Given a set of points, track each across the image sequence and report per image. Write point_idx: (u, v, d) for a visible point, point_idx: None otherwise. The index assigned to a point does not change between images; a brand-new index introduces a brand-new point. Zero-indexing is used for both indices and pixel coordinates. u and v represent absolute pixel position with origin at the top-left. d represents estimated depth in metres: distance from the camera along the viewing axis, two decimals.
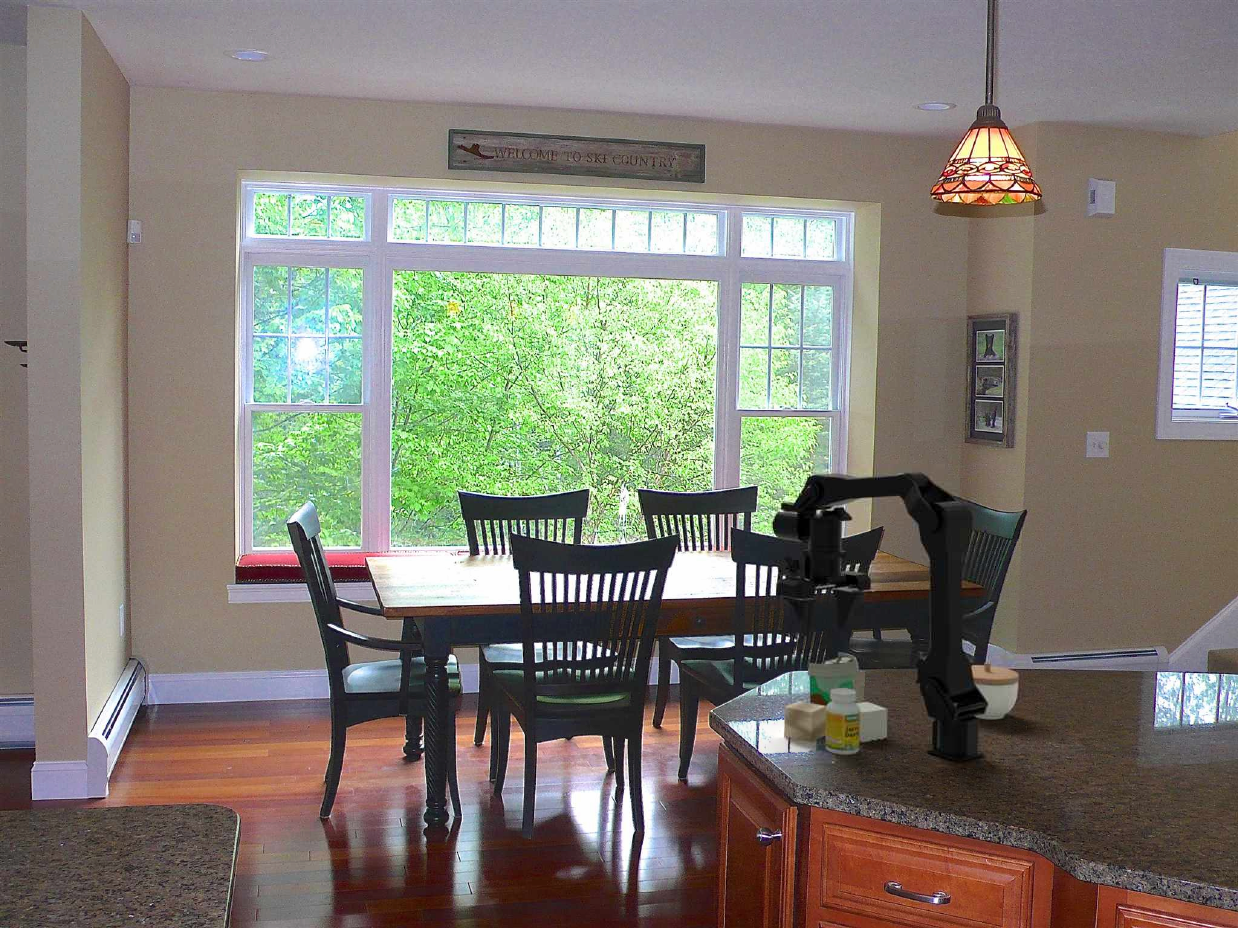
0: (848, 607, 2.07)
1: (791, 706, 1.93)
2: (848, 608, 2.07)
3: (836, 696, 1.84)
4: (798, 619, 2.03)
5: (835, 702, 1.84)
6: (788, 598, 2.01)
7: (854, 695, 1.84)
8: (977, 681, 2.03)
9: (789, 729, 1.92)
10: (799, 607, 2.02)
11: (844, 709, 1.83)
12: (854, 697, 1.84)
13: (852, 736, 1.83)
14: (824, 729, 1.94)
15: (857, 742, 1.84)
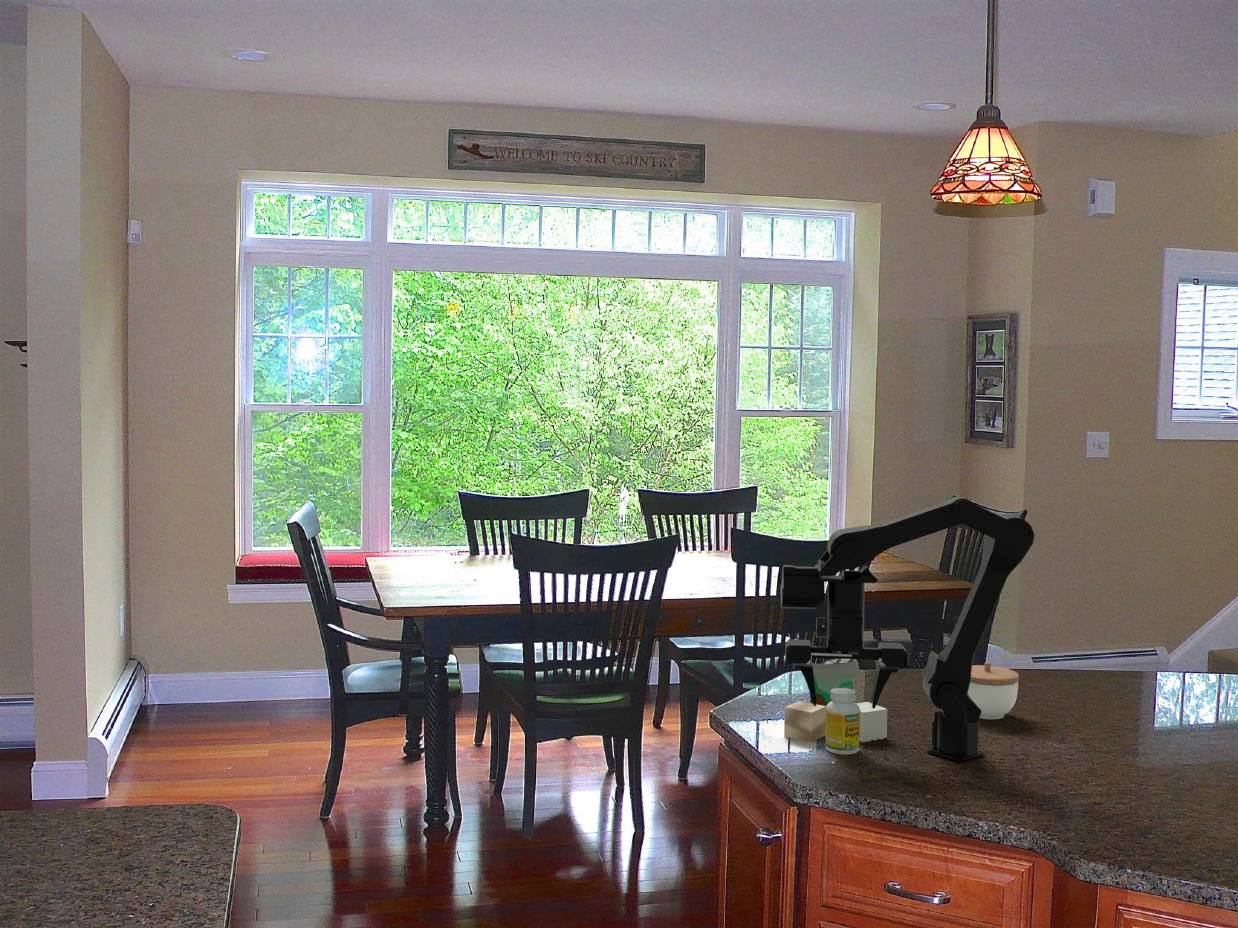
0: (876, 683, 1.83)
1: (791, 706, 1.93)
2: (875, 684, 1.83)
3: (836, 696, 1.84)
4: None
5: (835, 702, 1.84)
6: None
7: (854, 695, 1.84)
8: (977, 681, 2.03)
9: (789, 729, 1.92)
10: None
11: (844, 709, 1.83)
12: (854, 697, 1.84)
13: (852, 736, 1.83)
14: (824, 730, 1.94)
15: (857, 742, 1.84)
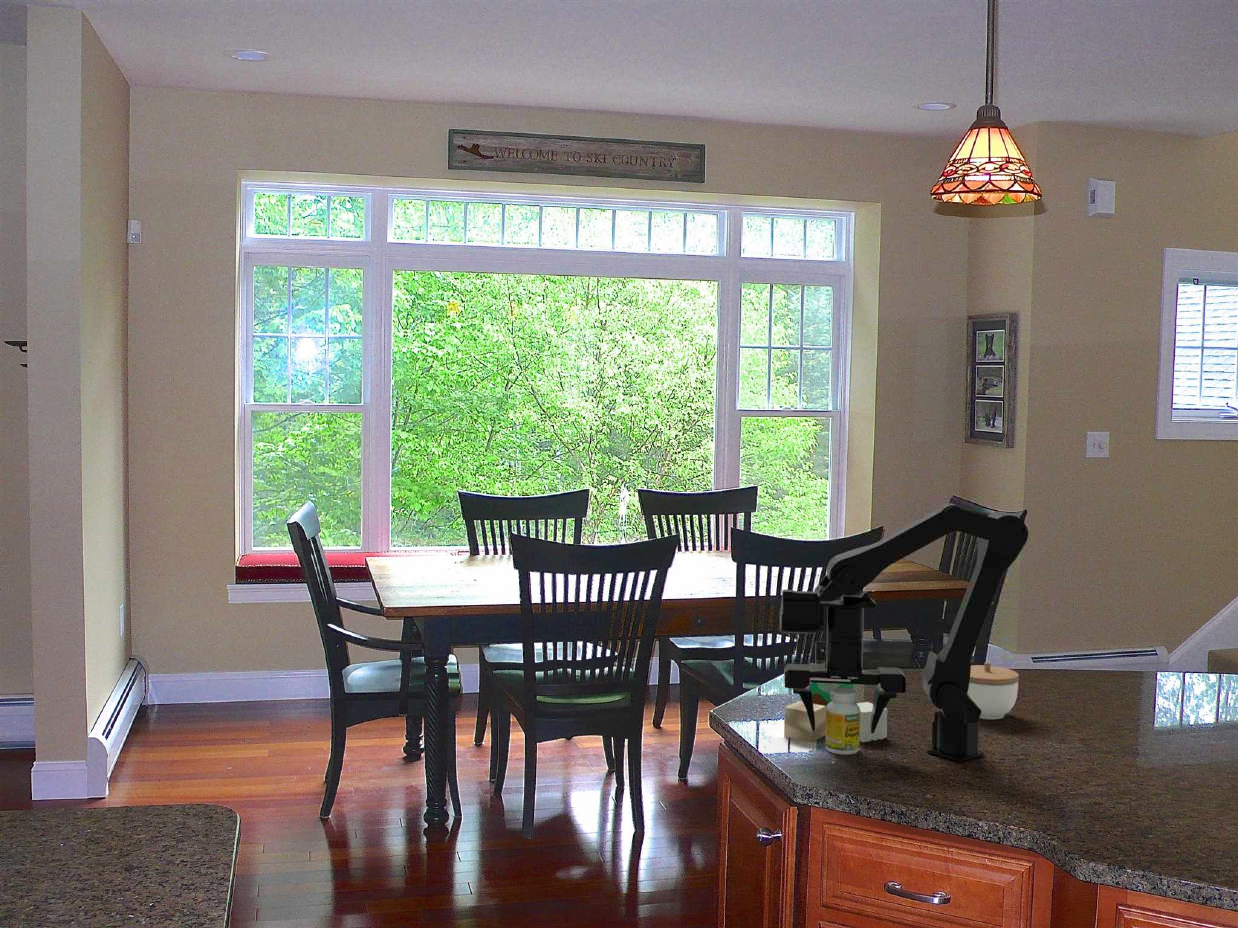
0: (874, 708, 1.83)
1: (791, 706, 1.93)
2: (874, 709, 1.83)
3: (836, 696, 1.84)
4: None
5: (835, 702, 1.84)
6: None
7: (854, 695, 1.84)
8: (977, 681, 2.03)
9: (789, 729, 1.92)
10: None
11: (844, 709, 1.83)
12: (854, 697, 1.84)
13: (852, 736, 1.83)
14: (824, 729, 1.94)
15: (857, 742, 1.84)
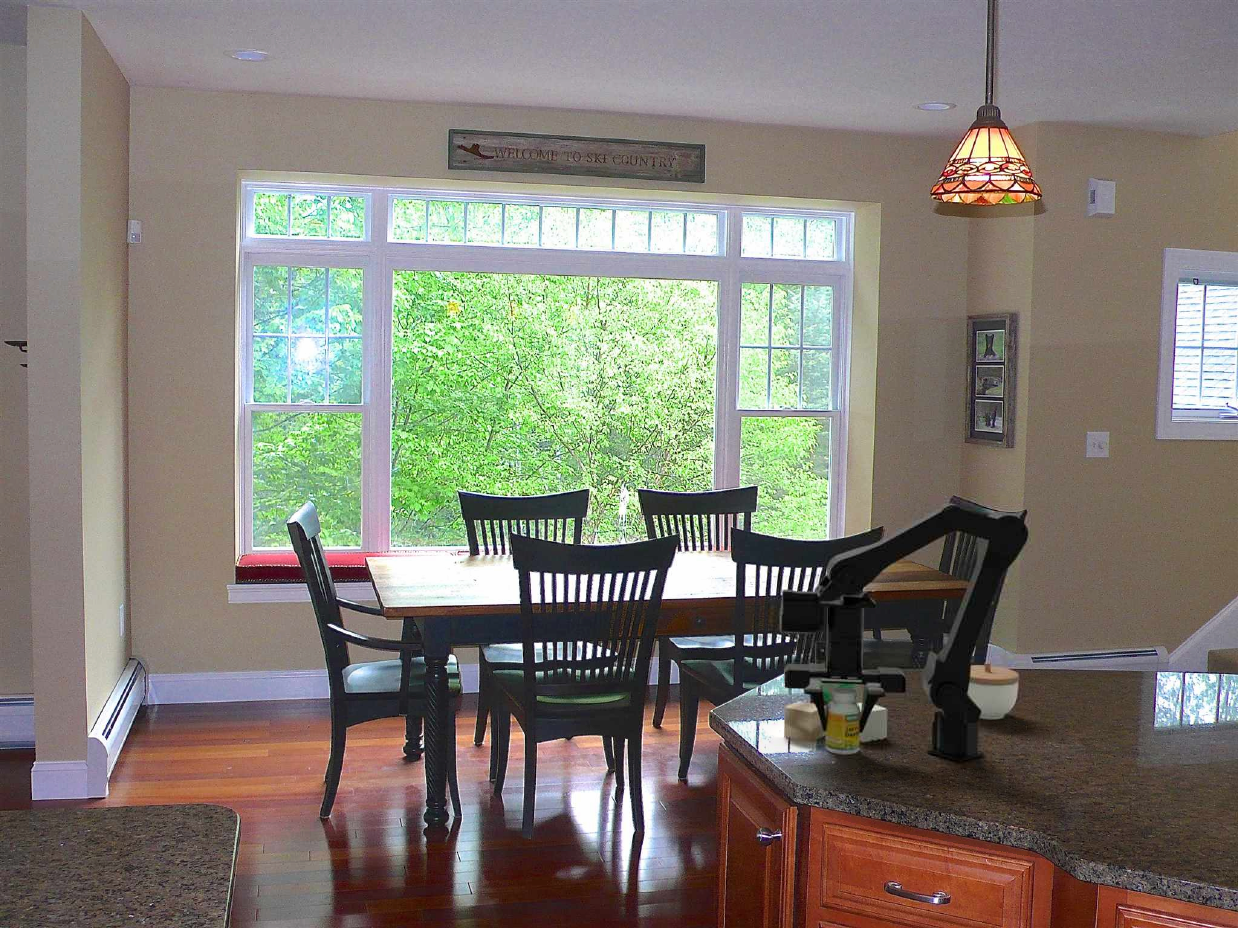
0: (863, 708, 1.84)
1: (791, 706, 1.93)
2: (863, 709, 1.84)
3: (836, 696, 1.84)
4: None
5: (835, 702, 1.84)
6: None
7: (854, 695, 1.84)
8: (977, 681, 2.03)
9: (789, 729, 1.92)
10: None
11: (844, 709, 1.83)
12: (854, 697, 1.84)
13: (852, 736, 1.83)
14: None
15: (857, 742, 1.84)
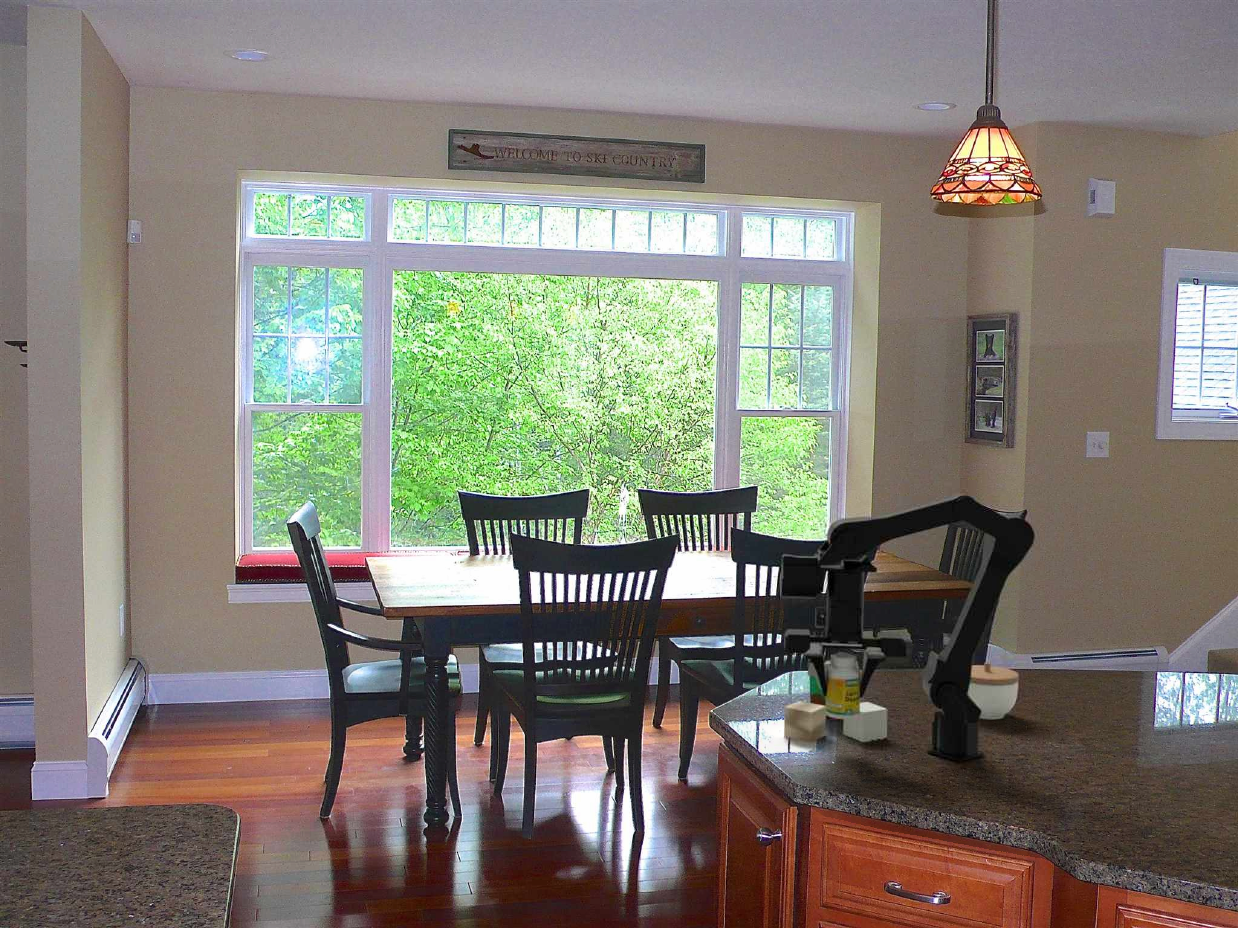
0: (863, 672, 1.83)
1: (791, 706, 1.93)
2: (863, 673, 1.83)
3: (836, 661, 1.83)
4: None
5: (835, 667, 1.84)
6: None
7: (854, 660, 1.84)
8: (977, 681, 2.03)
9: (789, 729, 1.92)
10: None
11: (844, 674, 1.83)
12: (854, 662, 1.84)
13: (852, 700, 1.83)
14: (824, 729, 1.94)
15: (857, 707, 1.84)
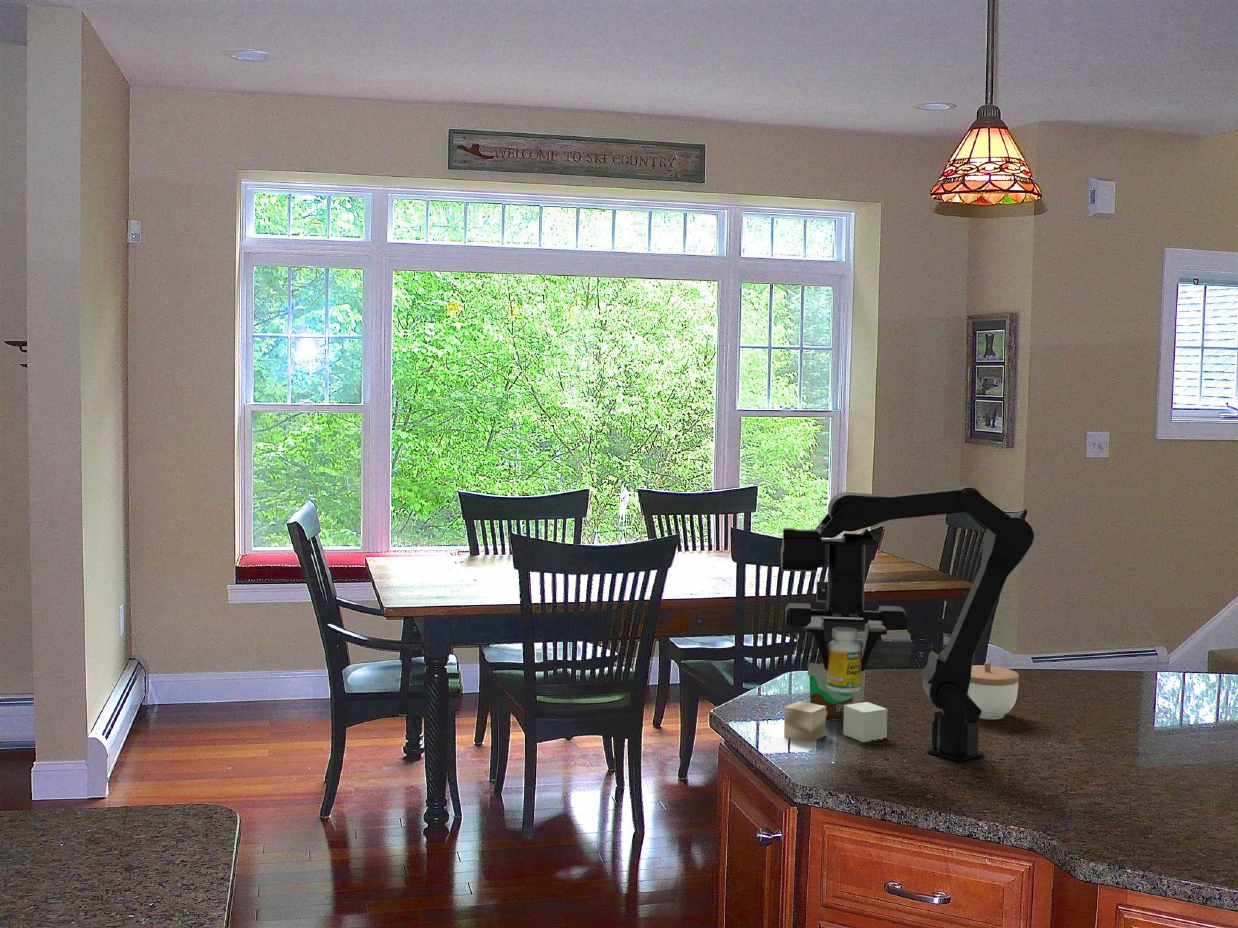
0: (865, 645, 1.83)
1: (791, 706, 1.93)
2: (864, 647, 1.83)
3: (837, 634, 1.83)
4: None
5: (836, 640, 1.84)
6: None
7: (855, 633, 1.83)
8: (977, 681, 2.03)
9: (789, 729, 1.92)
10: None
11: (845, 647, 1.82)
12: (855, 635, 1.83)
13: (853, 674, 1.83)
14: (824, 729, 1.94)
15: (859, 680, 1.84)
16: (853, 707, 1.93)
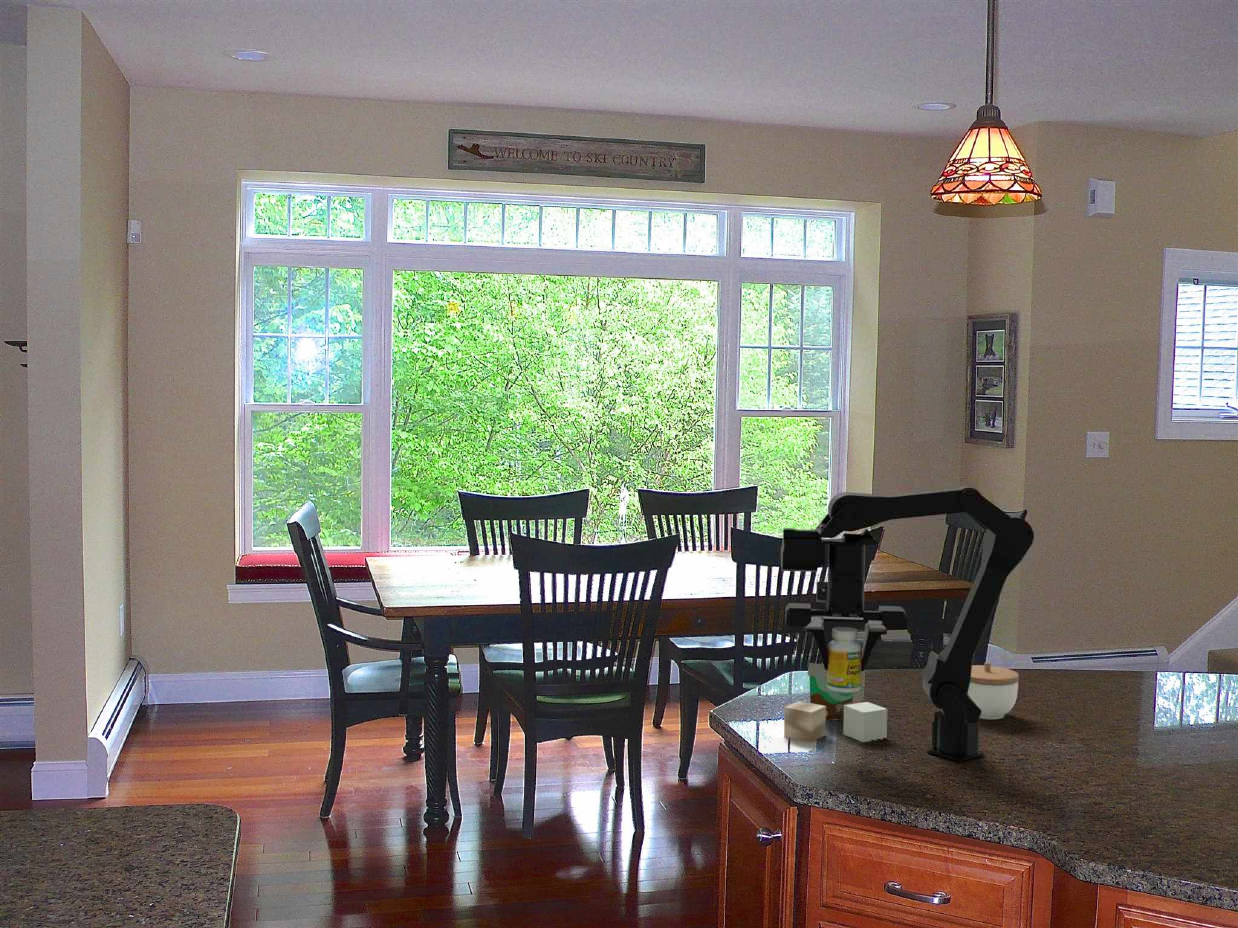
0: (865, 645, 1.83)
1: (791, 706, 1.93)
2: (864, 647, 1.83)
3: (837, 634, 1.83)
4: None
5: (836, 640, 1.84)
6: None
7: (855, 633, 1.83)
8: (977, 681, 2.03)
9: (789, 729, 1.92)
10: None
11: (845, 647, 1.82)
12: (855, 635, 1.83)
13: (853, 674, 1.83)
14: (824, 729, 1.94)
15: (859, 680, 1.84)
16: (853, 707, 1.93)
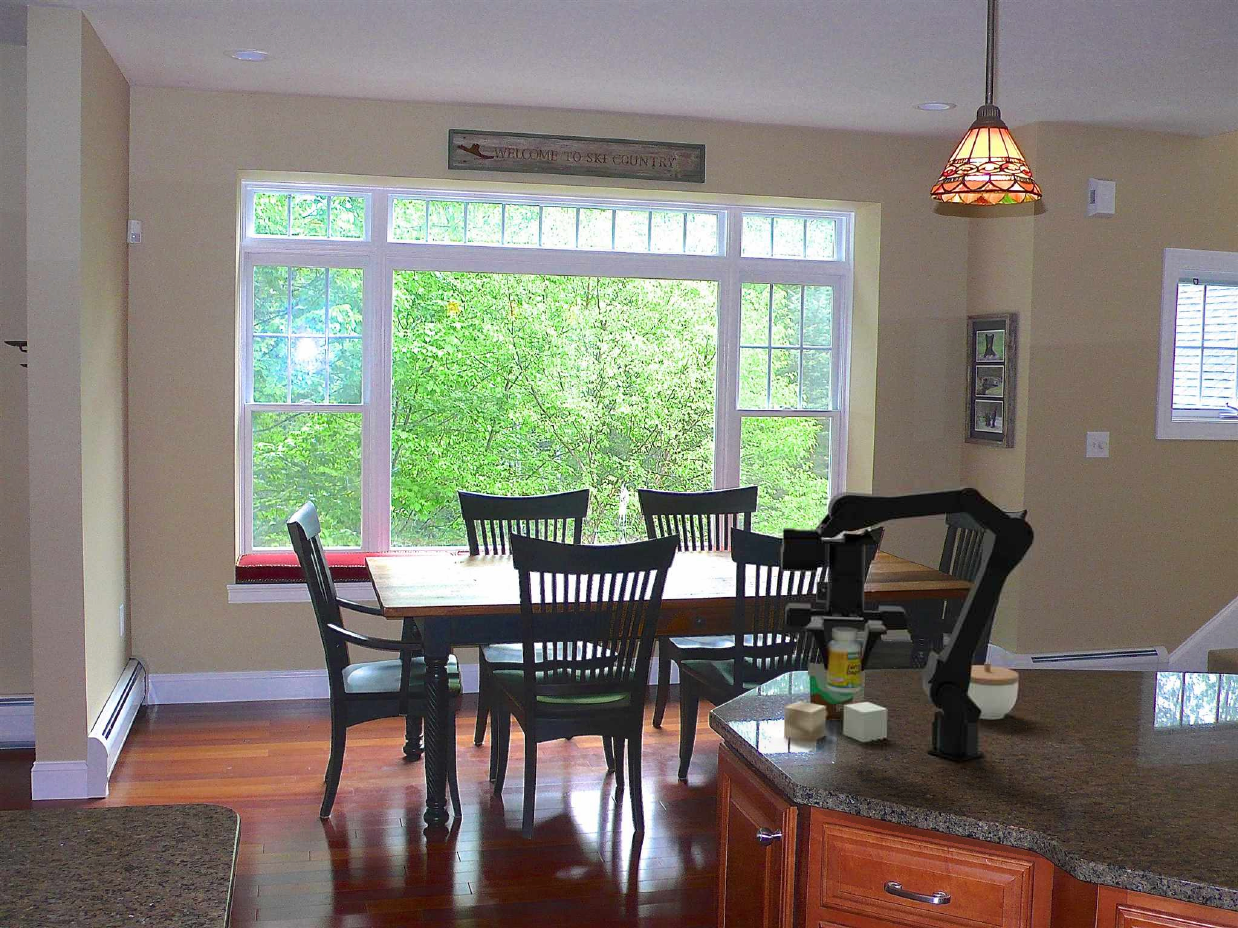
0: (865, 645, 1.83)
1: (791, 706, 1.93)
2: (864, 647, 1.83)
3: (837, 634, 1.83)
4: None
5: (836, 640, 1.84)
6: None
7: (855, 633, 1.83)
8: (977, 681, 2.03)
9: (789, 729, 1.92)
10: None
11: (845, 647, 1.82)
12: (855, 635, 1.83)
13: (853, 674, 1.83)
14: (824, 729, 1.94)
15: (859, 680, 1.84)
16: (853, 707, 1.93)
